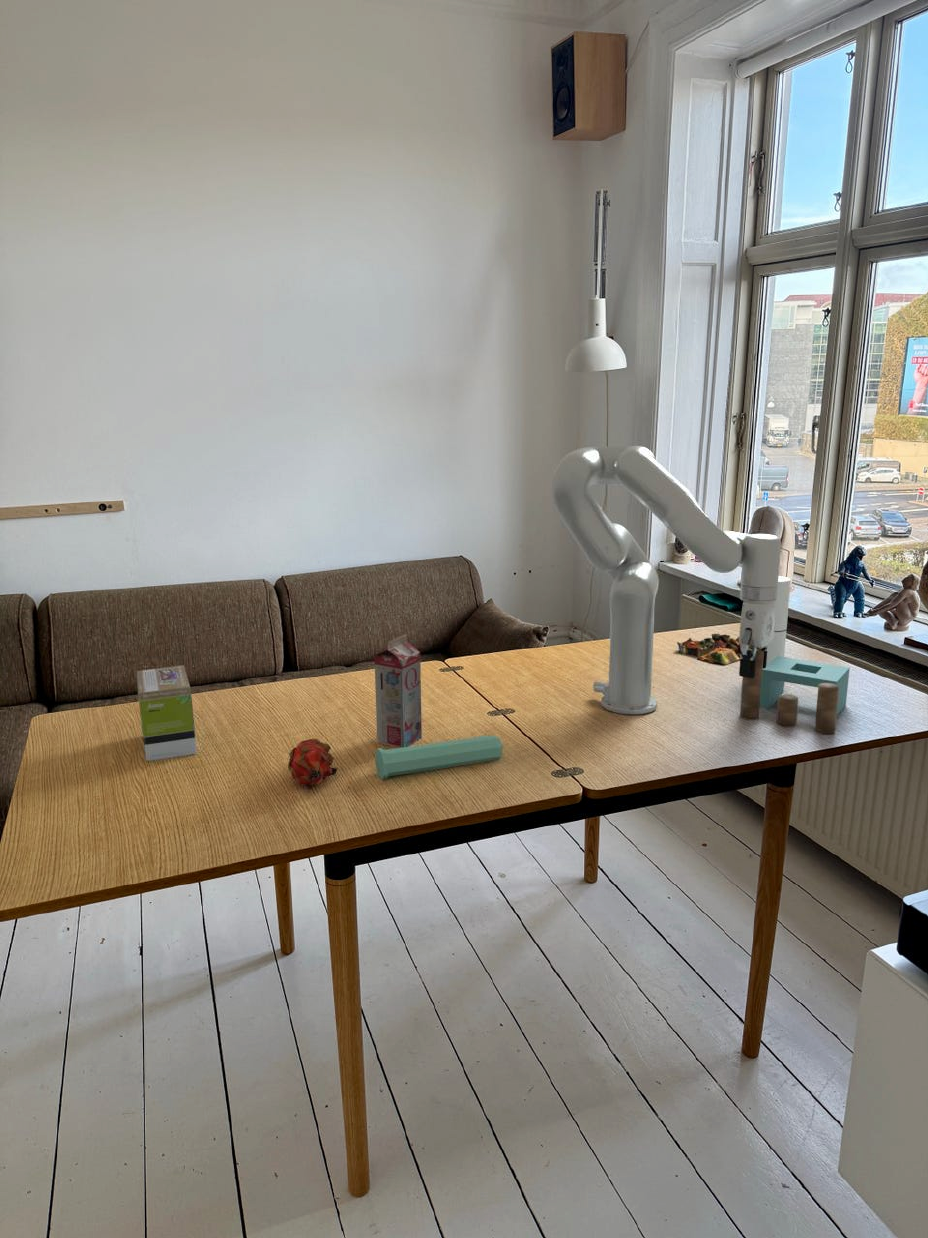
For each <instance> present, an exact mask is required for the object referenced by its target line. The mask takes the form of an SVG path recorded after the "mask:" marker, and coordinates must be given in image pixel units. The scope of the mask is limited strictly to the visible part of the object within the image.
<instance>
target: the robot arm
mask: <svg viewBox="0 0 928 1238" xmlns="http://www.w3.org/2000/svg"><path fill="white" fill-rule="evenodd" d="M550 482H551V483H550V497H551V501H552V504H553V506H554V508H555V510H556V512H557V514H558V516H559V517H560V518H561V521H562V522H563V523H564V524H565V527H566V528H567V529H568V530H569V533H571V536H572V537H573V539H574V541H576V544H577V545H578V547H580V549H581V551H582V552H583V553H584V554H583V555H585V557H586V558H587V560H588V561H589V563H590V564H591V565H592V566H593V568H595V569H596V570H599V571H601V572H602V571H603V572H606V573H607V574H608V575H609V577H610V578H611V580H612V584H611V587H610V595H609V607H610V609H609V610H610V613H609V614H610V621H609V622H610V627H609V628H610V629H609V631H610V633H609V657H608V658H609V662H608V663H609V664H608V681H607V682H606V683H605V682H604V681H598V680H595V681H594V682H593V686H592V687H593V692H595V693H599V694H602V695H603V696H602V697H601V700H600V705H601V706H602V707H603V708H604V709H606V710H607V711H609V712H613V713H616V714H617V713H618V714H621V715H622V714H623V715H644V714H648V713H651V712H654V711H655V710H656V709H657V708H658V701H657V699H656V698H654V697H653V696H651V695H652V694H651V693H652V674H653V672H652V671H653V659H654V655H653V654H654V653H653V652H654V634H655V633H654V632H655V630H654V629H655V628H654V627H655V600H656V595H657V593H658V589H659V583H660V580H659V575H658V572H657V571H656V569H655V567H654V566H653V564H652V563H651V562H650V560H649V559H648V557H647V555H646V554H645V553H644V551H643V550H642V548H641V547H640V545H639V544H638V542H637V540H636V539H635V538H634V536H633V535H632V533H630V531H629V530H628V529H627V528H625V527H624V526H623V525H621V524H619V523H615V522H611V520H610V519H609V518H608V517H607V515H606V514H605V512H604V510H603V508H602V507H601V505H599V503H598V502H597V501H596V499H595V497H594V496H593V495H592V492H591V487H592V486H593V485H596V486H597V485H598V486H599V485H605V486H606V485H621V486H622V487H624V489H625V490H626V491H628V492H629V493H630V494H631V495H632V496H633V497H634V498H635V499H636V500H638V502H640V504H642V505H643V506H644V507H645V508H646V509H648V510H649V511H650V513H652V514H653V515H654V516H656V518H657V519H658V520H659V521H660V522H662V524H663V525H664V526H665V528H666V529H668V530H669V531H670V533H672V534H673V535H674V536H675V537H676V538H677V540H679V542H680V543H681V544H682V545H683V546H684V547H686V549H687V550H689V552H691V553H692V554H693V555H694V556H695V557H696V558H697V559H699V561H701V563H703V564H704V565H705V566H706V567H708V568H709V569H710V570H712V571H714V572H715V573H720V574H725V573H730V572H731V573H732V572H733V571H735V570H736V569H737V568H738V567H739V566H741V576H740V589H739V592H740V593H739V599H740V600H741V601H743V602H742V608H741V613H740V614H741V615H740V622H739V634H738V635H739V636H738V637H739V643H740V648H741V651H740V653H741V655H740V660H739V670H738V671H739V672H738V676H739V677H742V678H743V677H747V678H754V677H755V666H756V660H754V658H755V654H756V649H760V650H762V651H764V657H763V669H764V668H766V663H767V651H765V650H767V649H768V644H769V643H770V642H771V641H772V640H773V638H774V622H775V602H776V601H777V590H778V577H779V576H780V575H779V574H780V563H781V562H780V561H781V551H782V550H781V549H782V542H781V538H780V537H778V536H776V535H775V534H774V535H773V534H768V533H752V534H748V533H742V532H736V531H731V530H722V529H721V528H720V527H719V526H718V525H717V524H715V523H714V521H712V520H711V518H709V516H708V515H706V514H705V512H704V511H703V509H701V507H700V506H699V504H698V502H697V501H696V499H695V497H694V496H693V494H692V493H691V491H690V490H689V489H688V487H686V486H684V485H683V484H682V483H681V482H680V481H679V480H678V479H676V478H675V477H674V476H673V475H672V474H671V473H669V472H668V471H667V469H665V468H664V467H663V466H662V465H661V464H660V463H658V462H657V459H656V456H655V455H654V453H653V452H652V451H651V450H649V449H648V448H647V447H644V446H641V445H627V446H589V447H587V446H586V447H580V448H579V449H576V450H573V451H570V452H569V453H568V454H566V455H565V456H564V457H563V458H562V459H561V460H560V461H559V463H558V465H557V466H556V468H555V470H554V472H553V475H552V477H551V481H550ZM749 643H752V644H753V645H754V646H753V645H749ZM748 649H752V653H751V651H750V650H748Z"/></svg>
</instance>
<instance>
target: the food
mask: <svg viewBox="0 0 928 1238" xmlns="http://www.w3.org/2000/svg"><path fill="white" fill-rule="evenodd" d="M676 644H677V645H678V653H679V654H683V655H688V656H693V657H697V659H696V660H698V661H699V660H700V661H702V662H706V663H707V662H708V663H710V664H711V663H713V664H716V663H719V664H721V665H725V666H727V665H729V664H732V663H734V662H737V661H740V655H741V653H740V651H741V648H740V643H739V636H738V637H737V638H733V637H732V638H731V635H729V634H720V633H712V634H711V637H707V638H703V639H702V640H692V637H689V638H688V639H687V640H685V641H683V642H679V641H677V642H676ZM749 645H753V644H752V643H749ZM753 646H754V645H753ZM739 654H740V655H739ZM699 656H700V657H699Z"/></svg>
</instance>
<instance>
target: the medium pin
mask: <svg viewBox="0 0 928 1238" xmlns="http://www.w3.org/2000/svg"><path fill="white" fill-rule="evenodd" d="M838 692H839V686H838V685H835V684H831V683H821V684H819V685H818V687H817V697H816V698H817V699H816V709H815V710H816V711H815V723H814V732H816V733H817V734H821V735H825V736H828V735H829V736H830V735H834V734H835V733H836V727H837V717H838V716H837V704H838ZM836 716H837V717H836Z"/></svg>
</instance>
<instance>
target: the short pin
mask: <svg viewBox="0 0 928 1238" xmlns="http://www.w3.org/2000/svg"><path fill="white" fill-rule="evenodd" d="M798 708H799V697H798V696H796V695H793V694H788V693H787V694H784V693H783V695H779V698H778V700H777V712H776V713H777V714H776V723H775V724H776V725H778V726H779V727H784V728H793V727H796V726H797V718H798Z"/></svg>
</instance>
